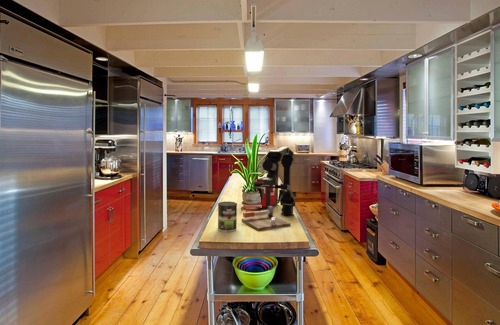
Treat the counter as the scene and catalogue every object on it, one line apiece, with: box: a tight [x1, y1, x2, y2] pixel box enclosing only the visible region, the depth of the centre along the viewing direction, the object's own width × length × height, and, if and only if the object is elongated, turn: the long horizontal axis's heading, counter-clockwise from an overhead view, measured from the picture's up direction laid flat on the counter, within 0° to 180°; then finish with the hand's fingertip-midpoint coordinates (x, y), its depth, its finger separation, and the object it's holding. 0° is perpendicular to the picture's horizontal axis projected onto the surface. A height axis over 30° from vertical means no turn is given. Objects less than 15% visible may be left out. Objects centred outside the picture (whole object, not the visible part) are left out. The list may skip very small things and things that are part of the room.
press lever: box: [242, 206, 274, 218], centre depth 186 cm, size 20×3×6 cm, turn 117°
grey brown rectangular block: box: [271, 217, 275, 226], centre depth 175 cm, size 6×2×3 cm, turn 172°
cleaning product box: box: [255, 176, 279, 210], centre depth 222 cm, size 16×9×20 cm, turn 148°
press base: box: [241, 214, 292, 232], centre depth 181 cm, size 21×20×2 cm
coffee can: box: [217, 201, 238, 233], centre depth 169 cm, size 10×10×14 cm
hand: (270, 202), depth 166 cm, fingers open, 9 cm apart
